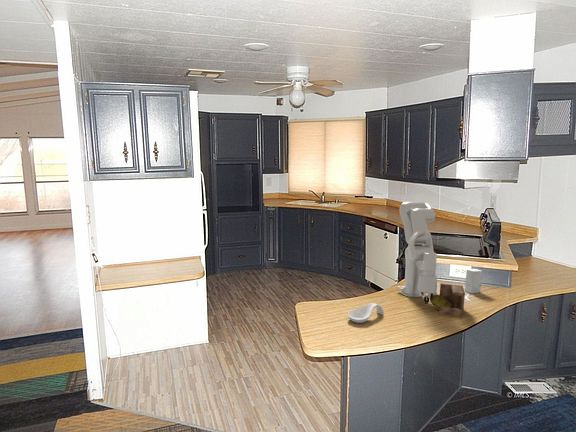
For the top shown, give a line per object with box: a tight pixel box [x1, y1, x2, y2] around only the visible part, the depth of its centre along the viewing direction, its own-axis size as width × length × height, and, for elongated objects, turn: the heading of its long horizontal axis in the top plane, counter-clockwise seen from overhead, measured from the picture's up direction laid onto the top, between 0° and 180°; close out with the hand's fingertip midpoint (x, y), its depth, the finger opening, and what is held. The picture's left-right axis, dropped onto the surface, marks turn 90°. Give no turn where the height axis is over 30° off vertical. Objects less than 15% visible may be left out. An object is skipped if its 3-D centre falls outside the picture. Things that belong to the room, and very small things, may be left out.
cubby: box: [439, 282, 466, 318], centre depth 241 cm, size 12×14×14 cm
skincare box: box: [464, 268, 483, 294], centre depth 275 cm, size 8×6×15 cm
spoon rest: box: [347, 302, 384, 324], centre depth 228 cm, size 24×12×7 cm, turn 128°
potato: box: [429, 293, 453, 311], centre depth 243 cm, size 8×13×8 cm, turn 28°
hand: (426, 303), depth 245 cm, fingers closed
